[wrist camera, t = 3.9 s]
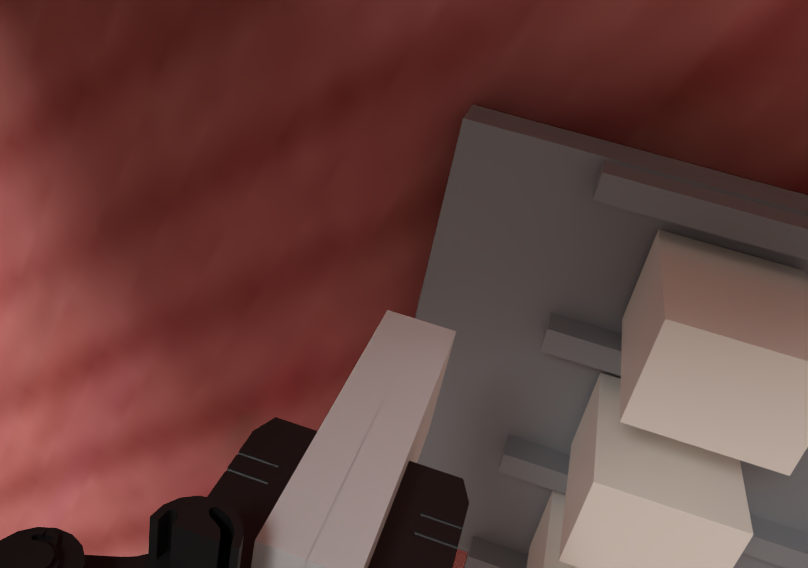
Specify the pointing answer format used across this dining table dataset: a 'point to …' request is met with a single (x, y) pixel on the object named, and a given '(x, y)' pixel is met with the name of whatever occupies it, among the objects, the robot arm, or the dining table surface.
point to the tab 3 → (648, 496)
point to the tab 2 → (718, 352)
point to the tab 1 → (549, 536)
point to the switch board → (571, 313)
